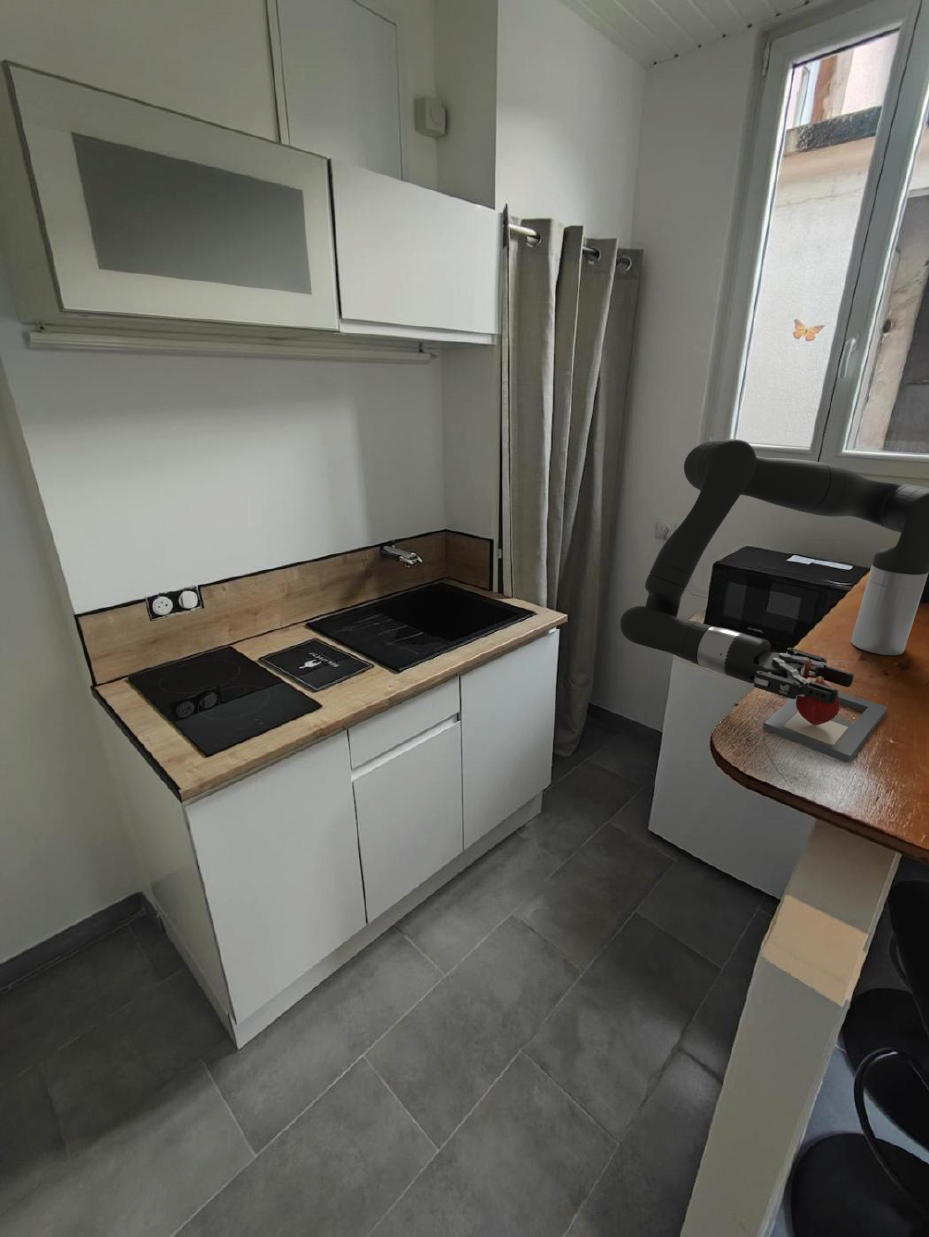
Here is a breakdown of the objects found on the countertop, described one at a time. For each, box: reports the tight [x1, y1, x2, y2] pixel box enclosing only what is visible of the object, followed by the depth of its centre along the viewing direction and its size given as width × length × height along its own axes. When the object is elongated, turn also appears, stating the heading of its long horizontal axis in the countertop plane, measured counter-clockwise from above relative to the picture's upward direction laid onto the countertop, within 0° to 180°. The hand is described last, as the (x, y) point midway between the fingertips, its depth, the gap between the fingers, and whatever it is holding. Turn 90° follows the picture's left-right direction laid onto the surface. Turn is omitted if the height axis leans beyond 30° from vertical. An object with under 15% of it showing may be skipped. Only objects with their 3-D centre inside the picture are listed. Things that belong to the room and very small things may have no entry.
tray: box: [762, 690, 889, 764], centre depth 92 cm, size 20×12×1 cm, turn 133°
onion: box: [796, 676, 841, 725], centre depth 88 cm, size 6×6×8 cm
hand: (844, 688), depth 84 cm, fingers open, 6 cm apart
